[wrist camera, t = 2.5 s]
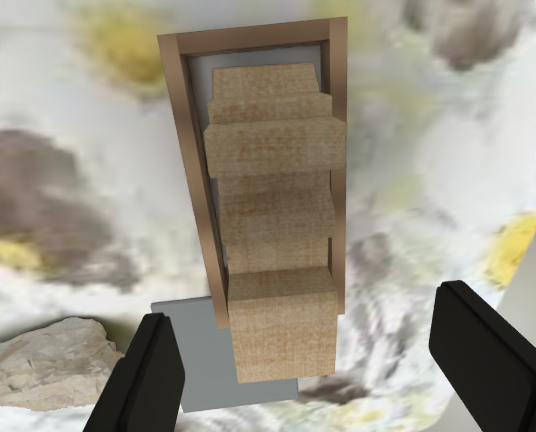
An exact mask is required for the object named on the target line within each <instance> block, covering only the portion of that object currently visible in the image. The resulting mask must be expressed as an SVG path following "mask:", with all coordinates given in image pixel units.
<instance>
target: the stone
mask: <svg viewBox="0 0 536 432" xmlns="http://www.w3.org/2000/svg"><path fill="white" fill-rule="evenodd" d="M106 335H107V334H106V332H105V329H104V327H103V326H102V325H101V324H100V323H99V322H96V321H95V320H93V319H81V318H78V317H70V318H66V319H64V320H63V321H61V322H57V323H54V324H52V325H50V326H48V327H46V328H42V329H37V330H34V331H31V332H27V333H23V334H21V335H19V336H17V337H15V338H13V339H11V340H9V341H6V342H4V343H0V406H13V407H23V408H27V409H31V410H32V411H44V412H47V411H49V410H58V409H61V408H67V407H68V406H72V405H73V406H74V407H78V406H83V407H84V406H86V405H88V404H96V403H97V401H98V399H99V397H100V395H101V393H102V391H103V389H104V387H105V385H106V383H107V381H108V379H109V377H110V375H111V373H112V371H113V369H114V367H115V365H116V363H117V361H118V360H119V359H120V358H121V357H125V355H124V354H121V352H120V351H117V352H116V345H115V342H111V341H109V340H107V339H106Z"/></svg>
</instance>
